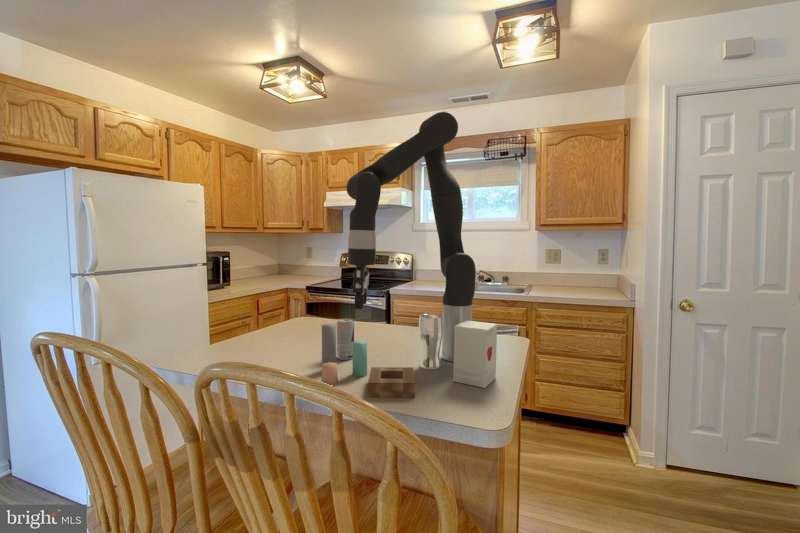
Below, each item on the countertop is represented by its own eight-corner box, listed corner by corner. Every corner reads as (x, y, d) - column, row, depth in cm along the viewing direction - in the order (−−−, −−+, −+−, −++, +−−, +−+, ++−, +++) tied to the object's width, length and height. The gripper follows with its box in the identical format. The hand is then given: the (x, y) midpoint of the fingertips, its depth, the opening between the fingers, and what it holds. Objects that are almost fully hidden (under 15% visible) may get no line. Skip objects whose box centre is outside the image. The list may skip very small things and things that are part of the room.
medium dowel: (367, 371, 107) (367, 340, 106) (366, 377, 103) (366, 344, 102) (353, 371, 107) (353, 340, 106) (351, 376, 103) (351, 344, 102)
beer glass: (444, 364, 114) (444, 314, 113) (439, 371, 107) (439, 319, 106) (422, 361, 116) (422, 313, 115) (415, 368, 110) (415, 317, 109)
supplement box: (485, 389, 95) (486, 329, 94) (452, 382, 99) (453, 325, 98) (496, 378, 102) (498, 323, 101) (465, 372, 107) (466, 319, 106)
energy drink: (355, 355, 122) (355, 318, 121) (352, 360, 117) (352, 322, 116) (339, 355, 122) (339, 318, 122) (335, 360, 117) (334, 321, 116)
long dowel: (337, 368, 110) (337, 323, 109) (335, 373, 106) (334, 326, 105) (323, 368, 110) (323, 323, 109) (320, 373, 106) (320, 326, 105)
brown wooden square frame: (413, 380, 100) (413, 367, 100) (414, 397, 89) (414, 382, 89) (371, 380, 100) (371, 367, 100) (368, 397, 89) (367, 382, 89)
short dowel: (338, 381, 100) (338, 362, 99) (336, 386, 96) (336, 367, 95) (323, 381, 100) (323, 362, 99) (320, 386, 96) (320, 367, 95)
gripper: (373, 247, 96) (372, 311, 97) (377, 247, 111) (376, 302, 111) (344, 247, 96) (342, 310, 97) (351, 246, 111) (350, 302, 112)
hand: (360, 306), depth 104 cm, fingers open, 8 cm apart
